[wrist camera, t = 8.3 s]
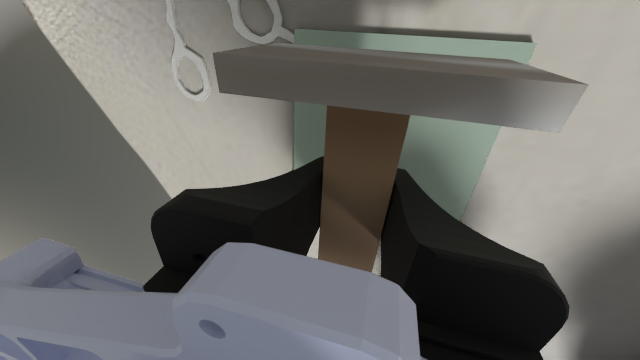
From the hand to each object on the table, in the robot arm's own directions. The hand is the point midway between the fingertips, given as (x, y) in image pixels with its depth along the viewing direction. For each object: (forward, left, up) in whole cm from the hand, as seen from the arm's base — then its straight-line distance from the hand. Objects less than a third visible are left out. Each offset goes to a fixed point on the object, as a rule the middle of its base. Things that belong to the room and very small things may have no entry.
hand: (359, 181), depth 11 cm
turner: (-1, 0, -3) cm, 3 cm away
